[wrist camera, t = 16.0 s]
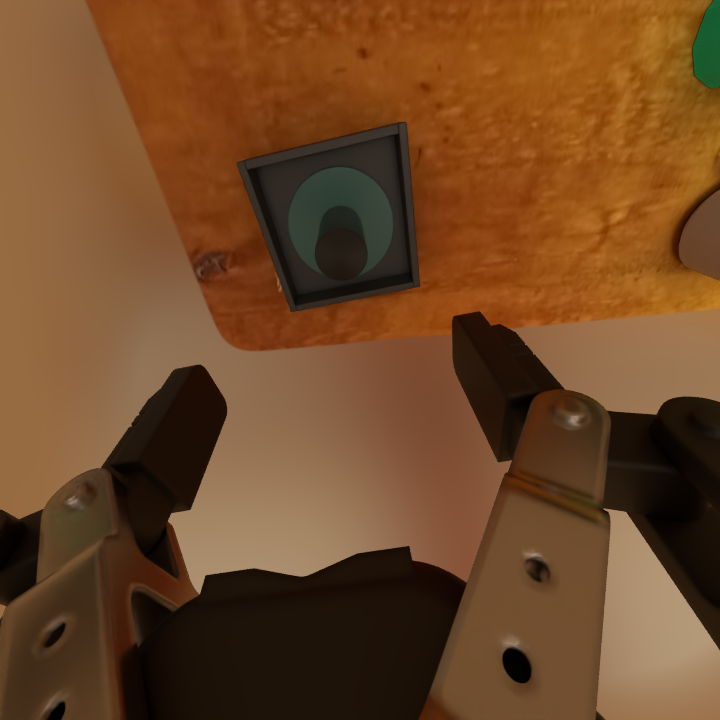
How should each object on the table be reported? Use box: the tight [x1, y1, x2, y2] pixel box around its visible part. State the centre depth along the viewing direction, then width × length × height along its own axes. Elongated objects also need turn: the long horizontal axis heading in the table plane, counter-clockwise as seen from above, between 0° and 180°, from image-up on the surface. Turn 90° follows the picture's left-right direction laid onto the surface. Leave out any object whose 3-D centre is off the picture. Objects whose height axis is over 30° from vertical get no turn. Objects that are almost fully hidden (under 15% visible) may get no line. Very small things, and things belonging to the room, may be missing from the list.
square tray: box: [237, 122, 420, 312], centre depth 23 cm, size 10×10×2 cm
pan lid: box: [288, 166, 394, 281], centre depth 21 cm, size 8×8×7 cm
